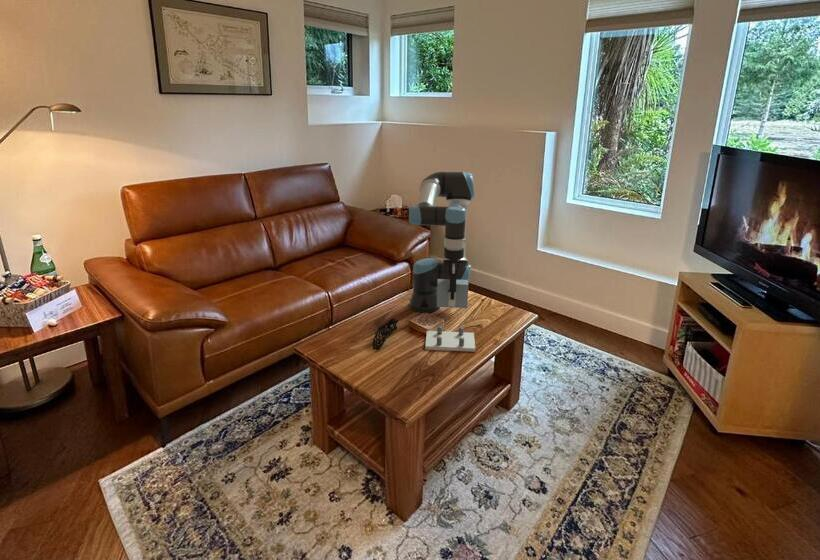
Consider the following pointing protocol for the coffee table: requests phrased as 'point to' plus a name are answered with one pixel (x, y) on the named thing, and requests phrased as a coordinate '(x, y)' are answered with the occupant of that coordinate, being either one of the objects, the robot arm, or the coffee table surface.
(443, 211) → the robot arm
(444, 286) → the slate block
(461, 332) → the pegboard
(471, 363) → the coffee table surface
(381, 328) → the decorative element
